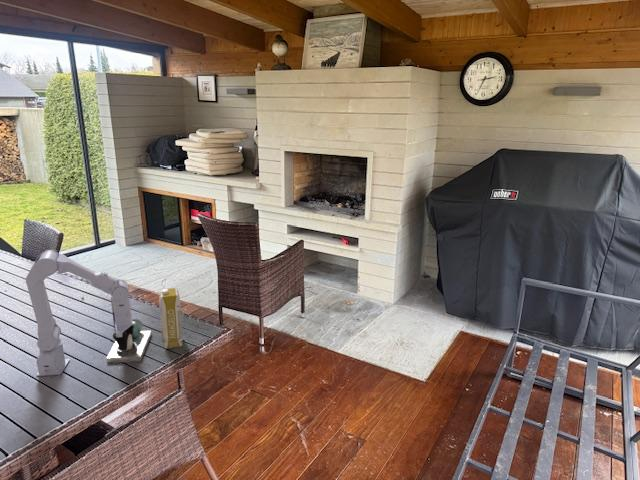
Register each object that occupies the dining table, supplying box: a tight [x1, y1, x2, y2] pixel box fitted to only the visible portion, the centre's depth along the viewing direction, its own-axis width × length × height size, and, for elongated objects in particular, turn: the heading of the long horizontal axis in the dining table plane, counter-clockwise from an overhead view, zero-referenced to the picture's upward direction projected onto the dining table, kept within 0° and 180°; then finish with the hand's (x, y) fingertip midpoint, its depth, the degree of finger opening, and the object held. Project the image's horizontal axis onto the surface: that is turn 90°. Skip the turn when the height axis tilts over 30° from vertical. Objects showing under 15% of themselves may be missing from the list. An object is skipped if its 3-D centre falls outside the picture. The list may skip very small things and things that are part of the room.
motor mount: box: [106, 318, 152, 363], centre depth 175 cm, size 20×12×8 cm, turn 9°
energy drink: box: [110, 296, 115, 324], centre depth 194 cm, size 5×5×12 cm
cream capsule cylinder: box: [121, 333, 133, 351], centre depth 170 cm, size 4×4×7 cm
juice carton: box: [158, 287, 184, 349], centre depth 177 cm, size 9×8×24 cm
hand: (126, 344), depth 170 cm, fingers open, 7 cm apart
